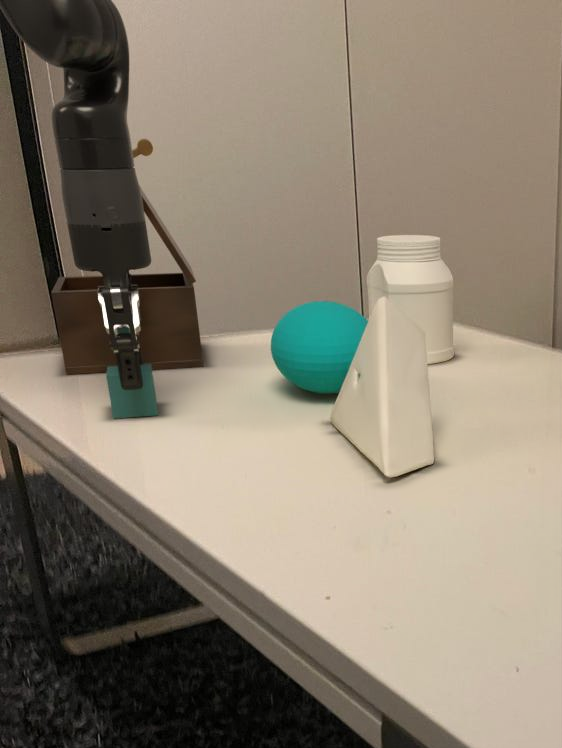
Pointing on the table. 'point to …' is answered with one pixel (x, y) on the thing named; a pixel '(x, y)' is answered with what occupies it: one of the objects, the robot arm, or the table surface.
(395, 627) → the table surface
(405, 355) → the white wedge
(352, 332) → the toy
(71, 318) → the chest
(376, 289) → the jar
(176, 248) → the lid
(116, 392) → the block
